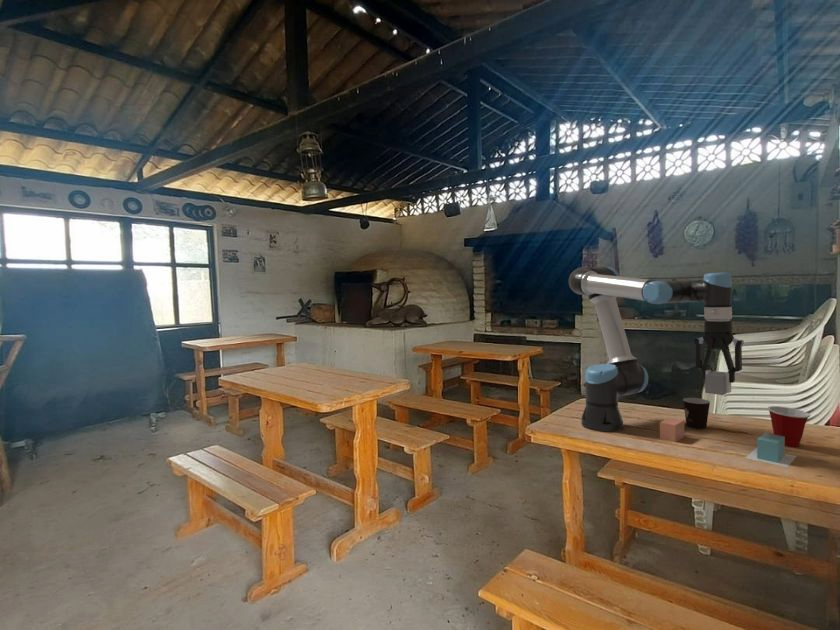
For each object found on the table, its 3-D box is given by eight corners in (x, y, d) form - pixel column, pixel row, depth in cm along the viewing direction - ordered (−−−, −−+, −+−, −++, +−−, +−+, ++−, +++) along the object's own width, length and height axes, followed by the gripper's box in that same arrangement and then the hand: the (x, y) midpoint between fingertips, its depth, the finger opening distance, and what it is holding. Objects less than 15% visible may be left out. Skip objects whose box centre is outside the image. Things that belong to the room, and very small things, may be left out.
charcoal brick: (705, 392, 144) (705, 374, 143) (713, 388, 149) (713, 371, 148) (723, 395, 140) (723, 376, 139) (731, 390, 145) (731, 372, 145)
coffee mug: (710, 431, 161) (710, 404, 160) (682, 428, 165) (682, 402, 165) (709, 423, 171) (709, 397, 170) (683, 420, 175) (683, 395, 175)
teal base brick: (757, 458, 134) (757, 439, 134) (764, 451, 139) (764, 432, 139) (777, 462, 130) (778, 443, 130) (784, 455, 135) (784, 436, 135)
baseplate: (745, 459, 135) (745, 457, 135) (756, 449, 142) (756, 447, 142) (786, 469, 127) (786, 467, 127) (796, 458, 135) (796, 456, 134)
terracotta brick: (659, 438, 156) (659, 422, 155) (669, 433, 161) (669, 417, 160) (675, 442, 152) (675, 425, 151) (684, 436, 157) (684, 420, 156)
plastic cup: (811, 454, 137) (812, 416, 136) (767, 447, 144) (767, 411, 143) (809, 444, 145) (809, 408, 145) (767, 438, 152) (767, 404, 152)
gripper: (683, 320, 148) (683, 388, 149) (748, 321, 134) (748, 397, 135) (691, 318, 152) (692, 385, 154) (755, 320, 138) (755, 393, 140)
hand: (718, 390), depth 144 cm, fingers closed on charcoal brick, 5 cm apart
